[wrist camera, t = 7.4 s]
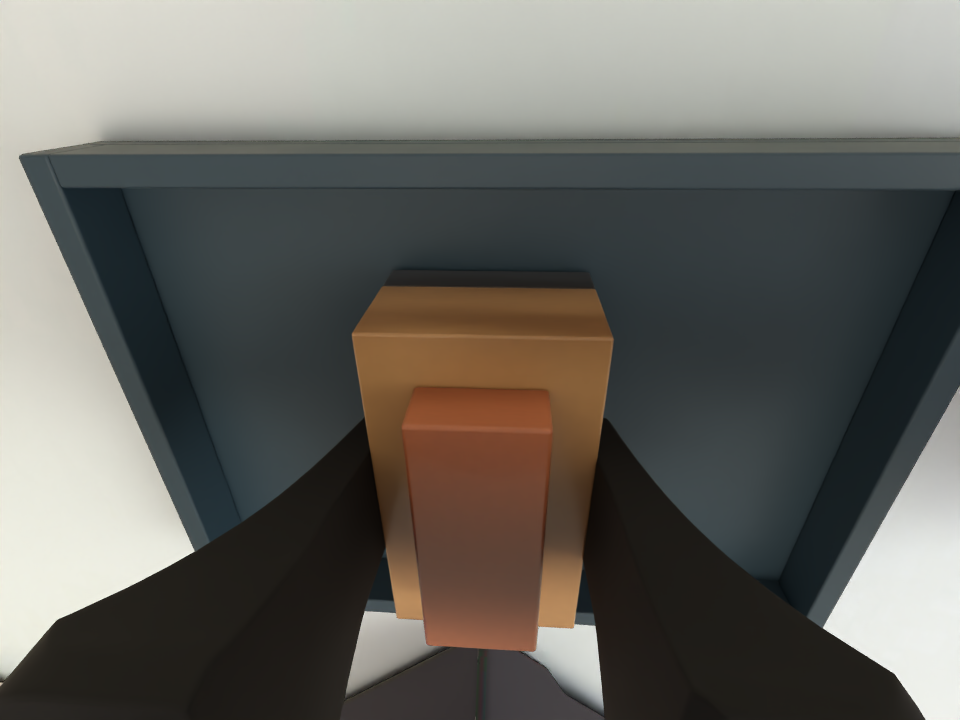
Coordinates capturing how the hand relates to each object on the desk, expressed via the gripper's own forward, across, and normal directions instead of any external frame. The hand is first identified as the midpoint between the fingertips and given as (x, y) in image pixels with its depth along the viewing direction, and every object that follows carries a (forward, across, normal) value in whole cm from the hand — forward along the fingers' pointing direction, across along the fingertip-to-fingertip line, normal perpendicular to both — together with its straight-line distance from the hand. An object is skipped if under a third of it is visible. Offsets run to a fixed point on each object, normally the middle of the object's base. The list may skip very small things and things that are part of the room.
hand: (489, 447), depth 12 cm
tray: (+2, 0, 0) cm, 2 cm away
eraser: (+1, 0, 0) cm, 1 cm away
